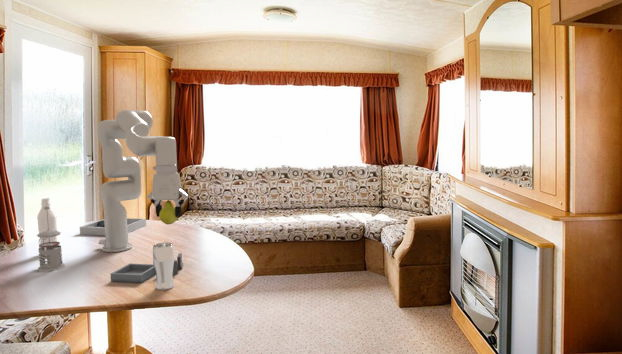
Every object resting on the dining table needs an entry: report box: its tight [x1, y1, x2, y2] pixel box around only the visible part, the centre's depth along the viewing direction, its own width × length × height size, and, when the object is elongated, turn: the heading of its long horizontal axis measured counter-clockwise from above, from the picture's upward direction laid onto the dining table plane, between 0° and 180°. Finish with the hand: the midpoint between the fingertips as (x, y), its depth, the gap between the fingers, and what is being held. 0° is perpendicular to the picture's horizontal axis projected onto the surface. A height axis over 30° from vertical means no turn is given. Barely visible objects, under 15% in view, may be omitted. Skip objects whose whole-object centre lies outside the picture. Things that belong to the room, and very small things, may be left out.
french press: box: [36, 206, 66, 272], centre depth 167 cm, size 10×12×25 cm
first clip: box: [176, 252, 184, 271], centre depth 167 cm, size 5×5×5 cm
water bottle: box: [36, 198, 58, 250], centre depth 185 cm, size 7×7×25 cm
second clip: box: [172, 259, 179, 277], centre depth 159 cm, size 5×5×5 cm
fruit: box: [158, 200, 179, 225], centre depth 159 cm, size 7×7×12 cm
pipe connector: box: [97, 219, 105, 227], centre depth 231 cm, size 12×5×15 cm
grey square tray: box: [110, 263, 156, 284], centre depth 156 cm, size 12×12×3 cm
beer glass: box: [152, 242, 175, 291], centre depth 145 cm, size 7×7×15 cm
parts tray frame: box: [79, 217, 147, 236], centre depth 233 cm, size 24×24×4 cm
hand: (168, 215), depth 159 cm, fingers closed on fruit, 6 cm apart
